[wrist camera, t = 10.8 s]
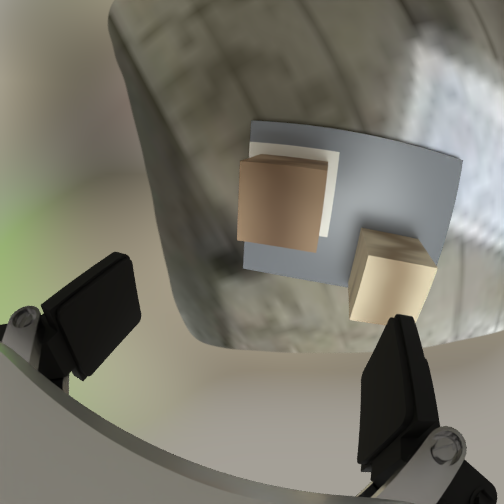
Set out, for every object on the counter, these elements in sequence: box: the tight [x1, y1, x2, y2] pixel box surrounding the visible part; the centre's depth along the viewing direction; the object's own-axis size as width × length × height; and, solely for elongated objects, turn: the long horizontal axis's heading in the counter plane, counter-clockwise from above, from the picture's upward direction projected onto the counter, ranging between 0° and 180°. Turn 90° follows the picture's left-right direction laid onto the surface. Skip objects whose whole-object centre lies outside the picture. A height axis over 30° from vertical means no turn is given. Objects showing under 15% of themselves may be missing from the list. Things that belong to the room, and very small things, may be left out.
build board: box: [243, 120, 463, 287], centre depth 24 cm, size 20×15×1 cm
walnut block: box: [237, 154, 328, 253], centre depth 22 cm, size 6×6×6 cm
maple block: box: [348, 228, 438, 325], centre depth 22 cm, size 6×6×6 cm
